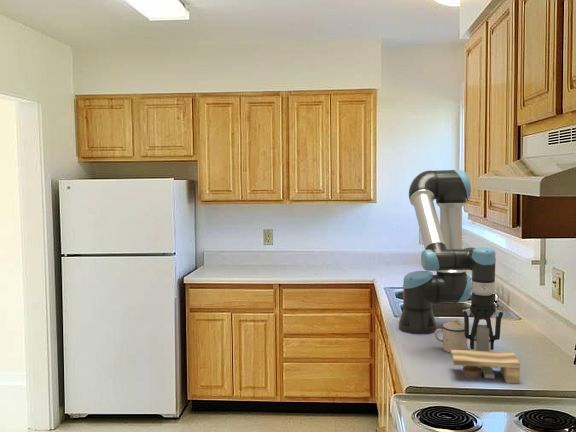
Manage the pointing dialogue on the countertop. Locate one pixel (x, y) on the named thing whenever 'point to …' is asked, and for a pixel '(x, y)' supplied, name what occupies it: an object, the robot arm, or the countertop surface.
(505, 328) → the countertop surface
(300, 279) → the countertop surface
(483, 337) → the gray l-shaped block
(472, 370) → the coaster
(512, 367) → the shelf
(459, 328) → the teacup with lid
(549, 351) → the countertop surface
